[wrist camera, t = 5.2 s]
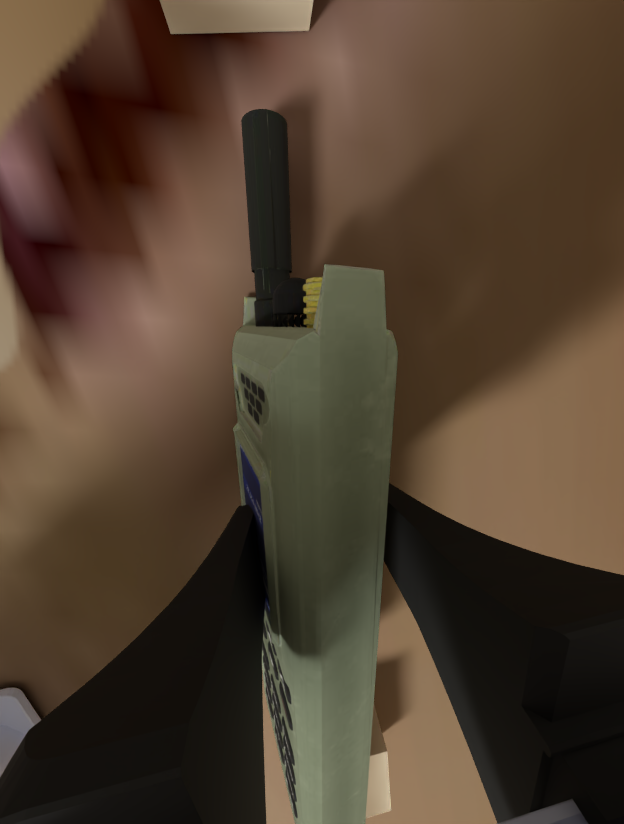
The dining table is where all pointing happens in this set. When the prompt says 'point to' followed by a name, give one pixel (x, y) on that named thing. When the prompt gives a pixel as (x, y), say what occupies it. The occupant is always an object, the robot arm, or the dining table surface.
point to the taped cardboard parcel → (272, 12)
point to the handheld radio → (314, 488)
